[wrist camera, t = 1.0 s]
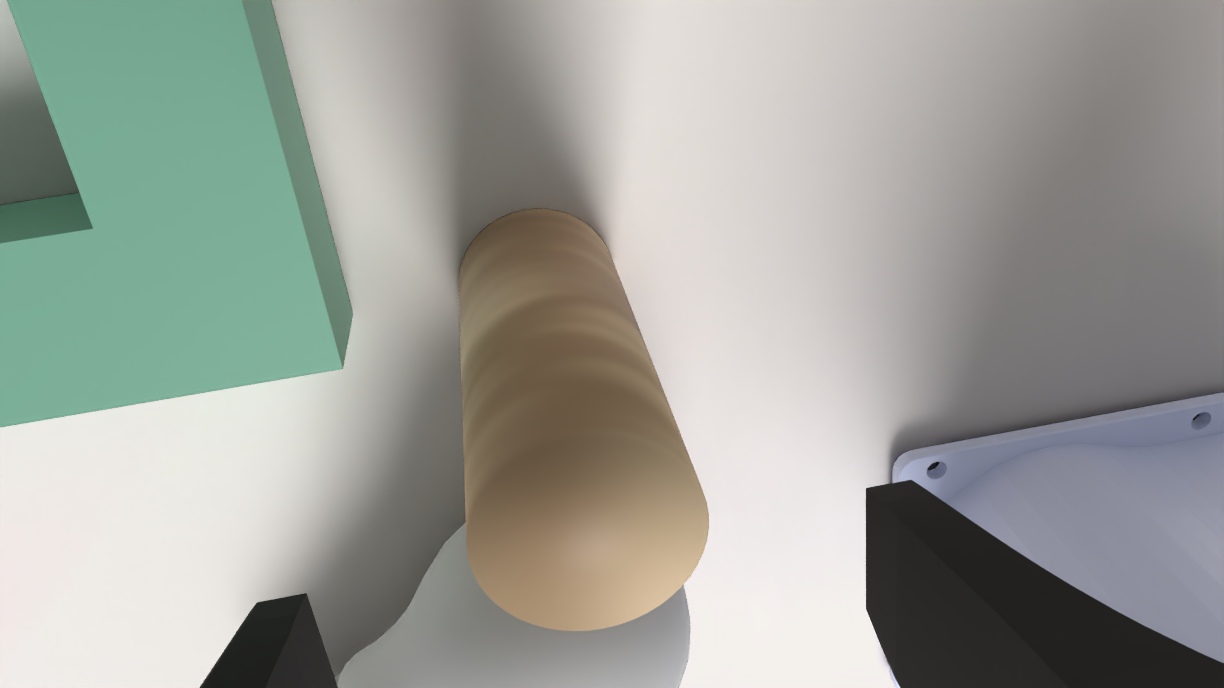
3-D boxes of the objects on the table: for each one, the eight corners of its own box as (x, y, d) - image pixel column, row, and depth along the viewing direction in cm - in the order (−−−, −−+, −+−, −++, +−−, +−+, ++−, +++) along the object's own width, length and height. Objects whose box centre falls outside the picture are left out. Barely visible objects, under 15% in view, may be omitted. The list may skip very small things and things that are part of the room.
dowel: (604, 196, 21) (700, 412, 14) (623, 339, 23) (717, 606, 15) (444, 222, 21) (444, 457, 13) (473, 364, 23) (489, 650, 15)
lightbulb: (261, 940, 22) (684, 761, 18) (160, 673, 23) (536, 454, 19) (421, 821, 27) (771, 665, 24) (333, 611, 29) (652, 433, 25)
